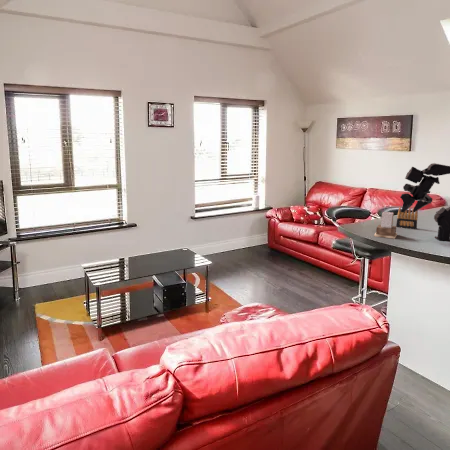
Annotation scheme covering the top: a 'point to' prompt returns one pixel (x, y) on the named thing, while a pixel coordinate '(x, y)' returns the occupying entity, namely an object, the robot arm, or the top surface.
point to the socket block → (386, 232)
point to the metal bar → (387, 220)
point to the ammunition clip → (407, 219)
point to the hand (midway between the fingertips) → (407, 211)
